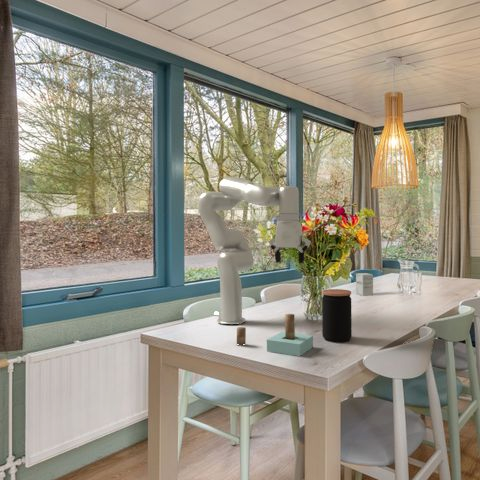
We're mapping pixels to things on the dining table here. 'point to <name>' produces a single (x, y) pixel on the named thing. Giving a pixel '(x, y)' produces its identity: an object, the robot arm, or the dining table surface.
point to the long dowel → (289, 327)
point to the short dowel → (241, 335)
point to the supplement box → (364, 284)
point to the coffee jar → (336, 315)
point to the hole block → (290, 344)
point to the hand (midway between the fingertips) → (289, 262)
